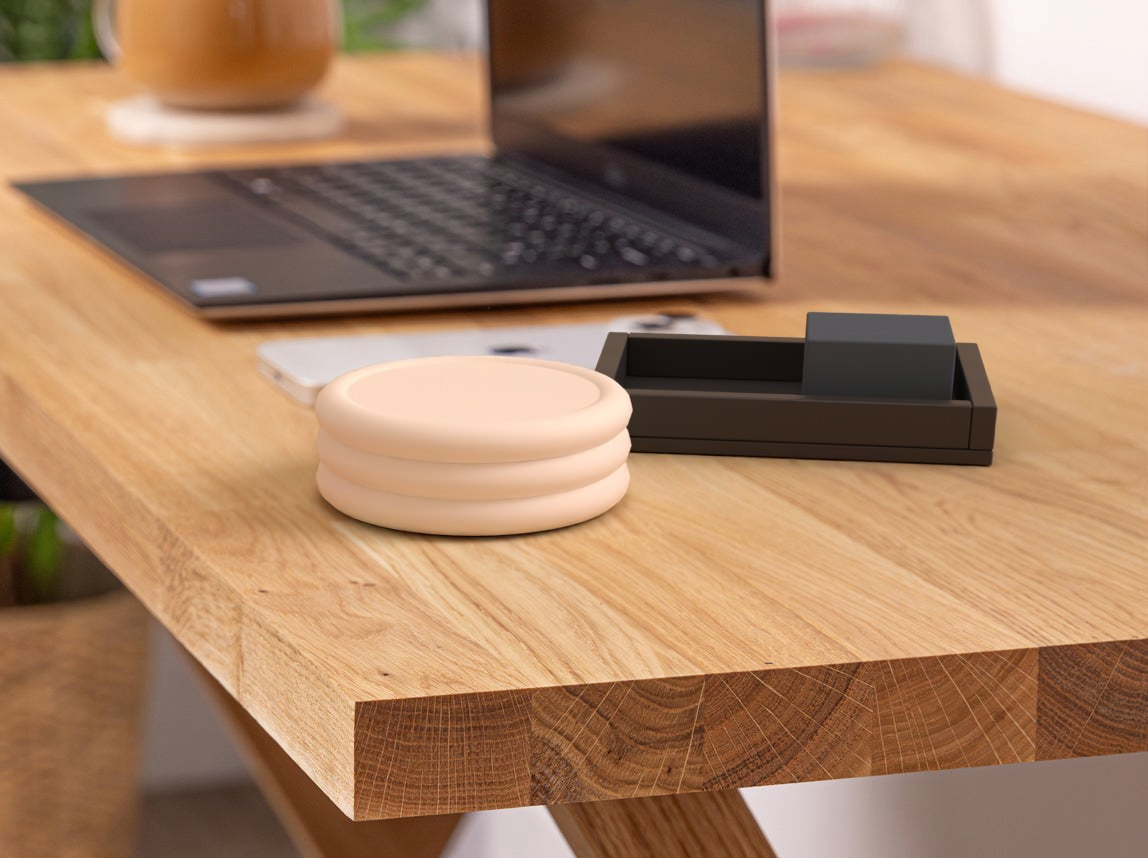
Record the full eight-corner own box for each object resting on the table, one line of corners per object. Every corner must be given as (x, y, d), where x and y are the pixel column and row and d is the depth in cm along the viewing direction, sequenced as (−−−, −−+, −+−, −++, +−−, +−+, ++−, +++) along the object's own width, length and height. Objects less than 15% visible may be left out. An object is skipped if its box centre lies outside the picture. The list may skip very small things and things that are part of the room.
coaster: (545, 440, 78) (547, 340, 77) (685, 518, 70) (690, 406, 68) (273, 472, 75) (270, 367, 73) (386, 557, 66) (385, 441, 65)
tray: (972, 396, 84) (977, 342, 83) (992, 465, 75) (997, 406, 74) (606, 383, 86) (608, 331, 85) (584, 449, 77) (585, 392, 76)
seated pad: (941, 397, 82) (948, 315, 80) (948, 430, 77) (957, 343, 76) (801, 392, 82) (806, 311, 81) (801, 424, 78) (807, 339, 77)
